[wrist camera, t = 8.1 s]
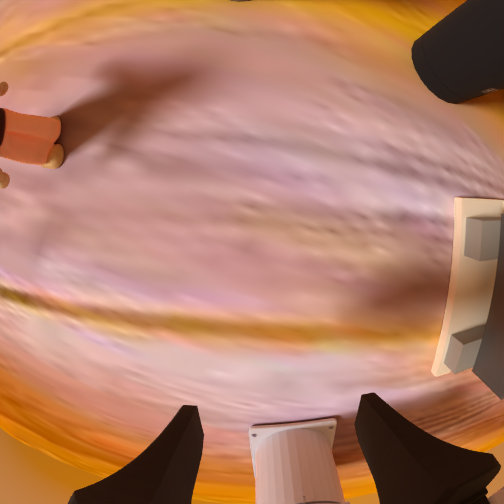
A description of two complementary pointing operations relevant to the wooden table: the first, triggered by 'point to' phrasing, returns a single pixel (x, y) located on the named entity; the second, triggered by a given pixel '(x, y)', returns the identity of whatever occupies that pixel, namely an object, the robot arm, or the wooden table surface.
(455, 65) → the wine bottle
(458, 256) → the stand
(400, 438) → the robot arm
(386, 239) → the wooden table surface
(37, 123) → the grandmother figurine
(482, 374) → the handle bar
